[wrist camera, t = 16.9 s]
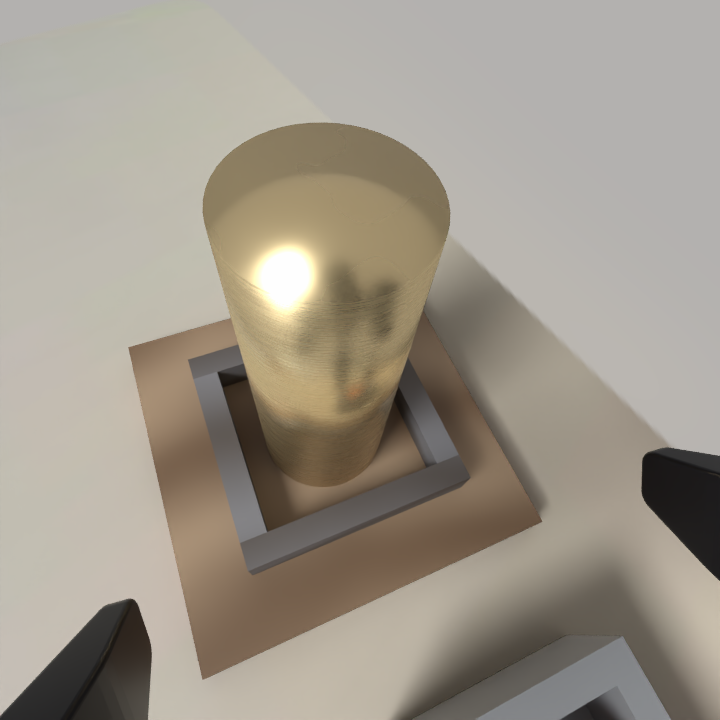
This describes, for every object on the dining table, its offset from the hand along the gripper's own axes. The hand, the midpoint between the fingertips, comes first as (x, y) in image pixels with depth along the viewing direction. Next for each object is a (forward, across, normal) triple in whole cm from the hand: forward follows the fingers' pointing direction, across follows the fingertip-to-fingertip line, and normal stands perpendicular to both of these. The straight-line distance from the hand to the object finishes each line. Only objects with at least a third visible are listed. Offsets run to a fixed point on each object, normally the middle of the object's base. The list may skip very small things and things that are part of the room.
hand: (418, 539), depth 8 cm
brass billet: (+13, 0, +3) cm, 13 cm away
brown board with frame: (+14, 0, +4) cm, 14 cm away
